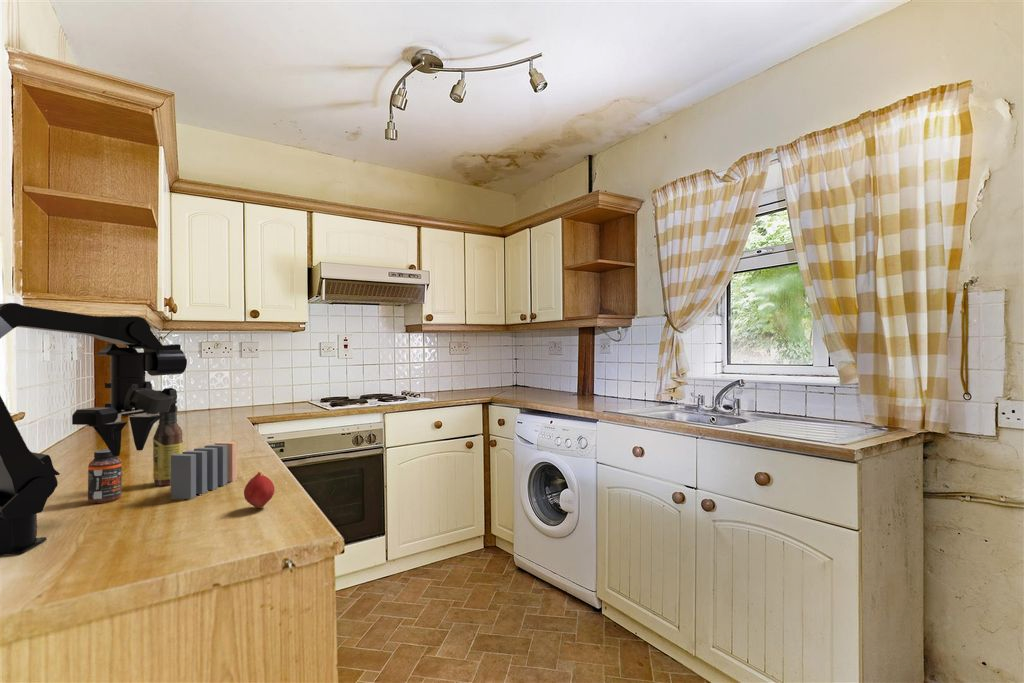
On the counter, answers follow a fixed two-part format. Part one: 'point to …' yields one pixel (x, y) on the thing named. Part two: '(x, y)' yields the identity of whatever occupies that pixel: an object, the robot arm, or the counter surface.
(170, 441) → the sauce bottle
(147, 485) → the counter surface
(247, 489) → the onion
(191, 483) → the domino
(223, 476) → the domino
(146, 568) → the counter surface
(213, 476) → the domino
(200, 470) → the domino
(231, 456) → the domino
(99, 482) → the supplement bottle
